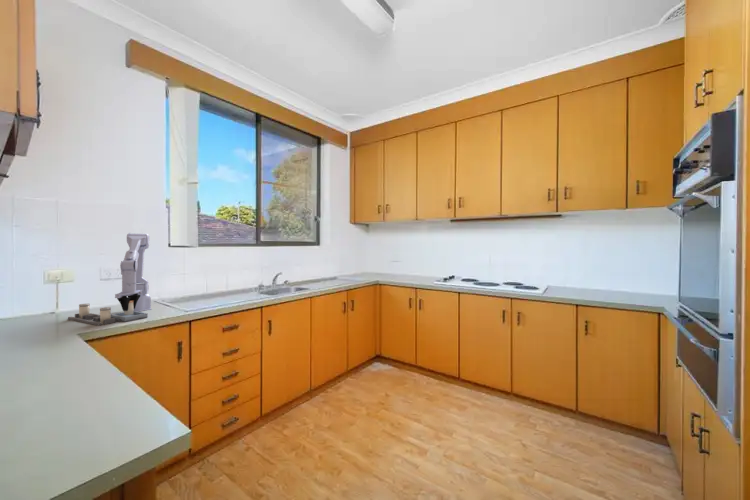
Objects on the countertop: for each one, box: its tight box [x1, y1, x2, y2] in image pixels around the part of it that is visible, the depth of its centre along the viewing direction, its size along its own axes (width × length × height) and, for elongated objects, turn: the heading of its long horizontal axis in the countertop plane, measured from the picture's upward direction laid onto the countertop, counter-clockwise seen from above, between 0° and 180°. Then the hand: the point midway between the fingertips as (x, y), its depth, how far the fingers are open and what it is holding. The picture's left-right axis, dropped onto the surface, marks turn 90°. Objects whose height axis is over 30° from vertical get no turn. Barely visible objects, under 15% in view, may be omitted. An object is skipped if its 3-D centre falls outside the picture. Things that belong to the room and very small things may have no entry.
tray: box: [111, 311, 149, 323], centre depth 167 cm, size 11×13×2 cm
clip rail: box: [67, 312, 122, 327], centre depth 161 cm, size 10×26×2 cm, turn 67°
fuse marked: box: [123, 300, 134, 315], centre depth 167 cm, size 4×4×7 cm
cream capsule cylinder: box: [78, 303, 91, 319], centre depth 165 cm, size 4×4×7 cm
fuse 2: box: [99, 306, 112, 324], centre depth 158 cm, size 4×4×7 cm
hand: (129, 309), depth 167 cm, fingers closed on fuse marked, 4 cm apart
